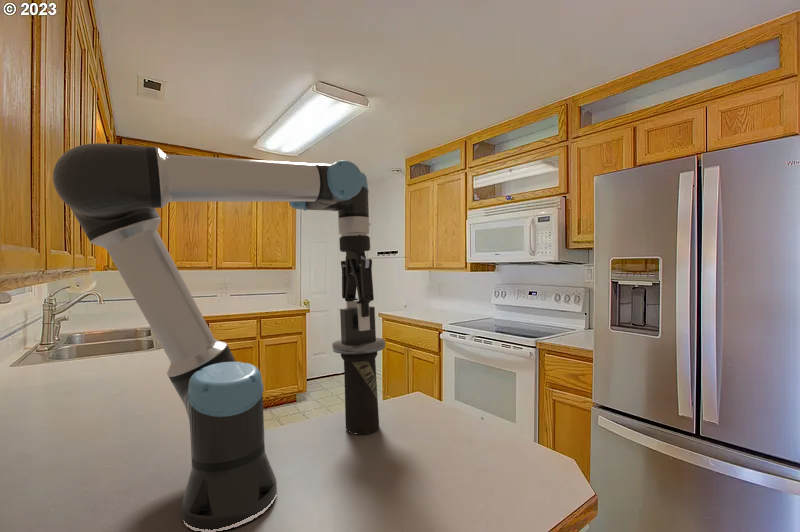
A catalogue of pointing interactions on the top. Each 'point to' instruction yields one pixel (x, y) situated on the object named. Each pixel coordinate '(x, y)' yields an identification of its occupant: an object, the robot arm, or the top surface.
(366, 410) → the container
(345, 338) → the lid
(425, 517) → the top surface
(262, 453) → the robot arm
